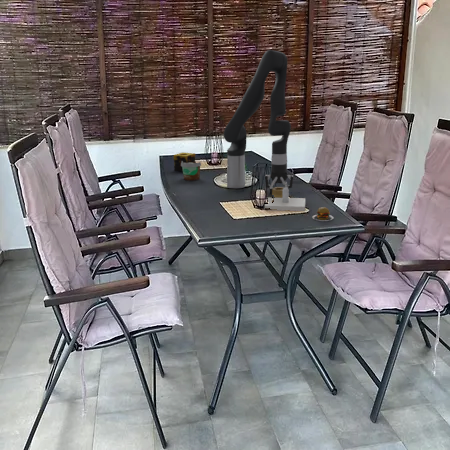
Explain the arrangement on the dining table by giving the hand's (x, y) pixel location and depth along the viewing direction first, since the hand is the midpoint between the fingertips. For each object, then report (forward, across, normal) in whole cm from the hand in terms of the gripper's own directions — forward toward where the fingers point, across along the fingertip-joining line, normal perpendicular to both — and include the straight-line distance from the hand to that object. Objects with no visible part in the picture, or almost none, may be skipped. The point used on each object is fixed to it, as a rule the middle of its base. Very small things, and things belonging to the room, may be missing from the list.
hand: (278, 195), depth 248 cm
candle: (+1, -62, +60) cm, 86 cm away
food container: (+1, -53, +34) cm, 63 cm away
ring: (+1, 0, 0) cm, 1 cm away
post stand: (+1, +4, -15) cm, 16 cm away
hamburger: (+2, +21, -32) cm, 38 cm away
